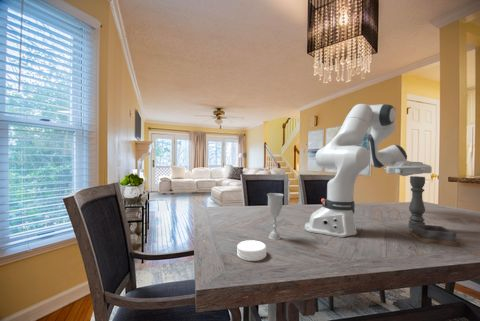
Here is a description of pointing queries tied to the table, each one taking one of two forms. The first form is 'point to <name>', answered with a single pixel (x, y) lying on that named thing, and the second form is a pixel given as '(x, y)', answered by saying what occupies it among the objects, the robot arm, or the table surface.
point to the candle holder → (416, 201)
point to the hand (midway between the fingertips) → (412, 171)
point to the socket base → (434, 235)
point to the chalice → (274, 211)
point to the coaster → (251, 250)
